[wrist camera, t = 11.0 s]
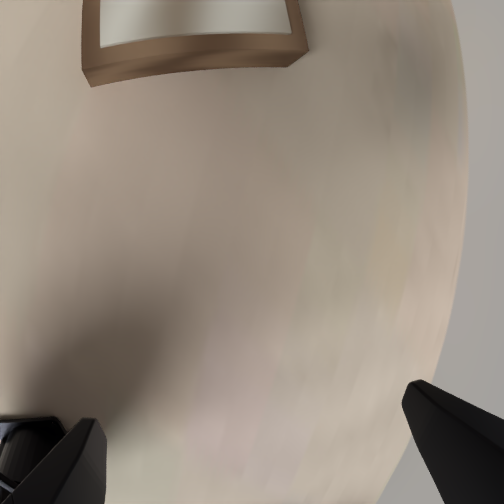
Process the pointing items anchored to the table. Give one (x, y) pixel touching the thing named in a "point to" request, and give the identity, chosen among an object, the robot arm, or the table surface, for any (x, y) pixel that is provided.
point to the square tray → (187, 36)
